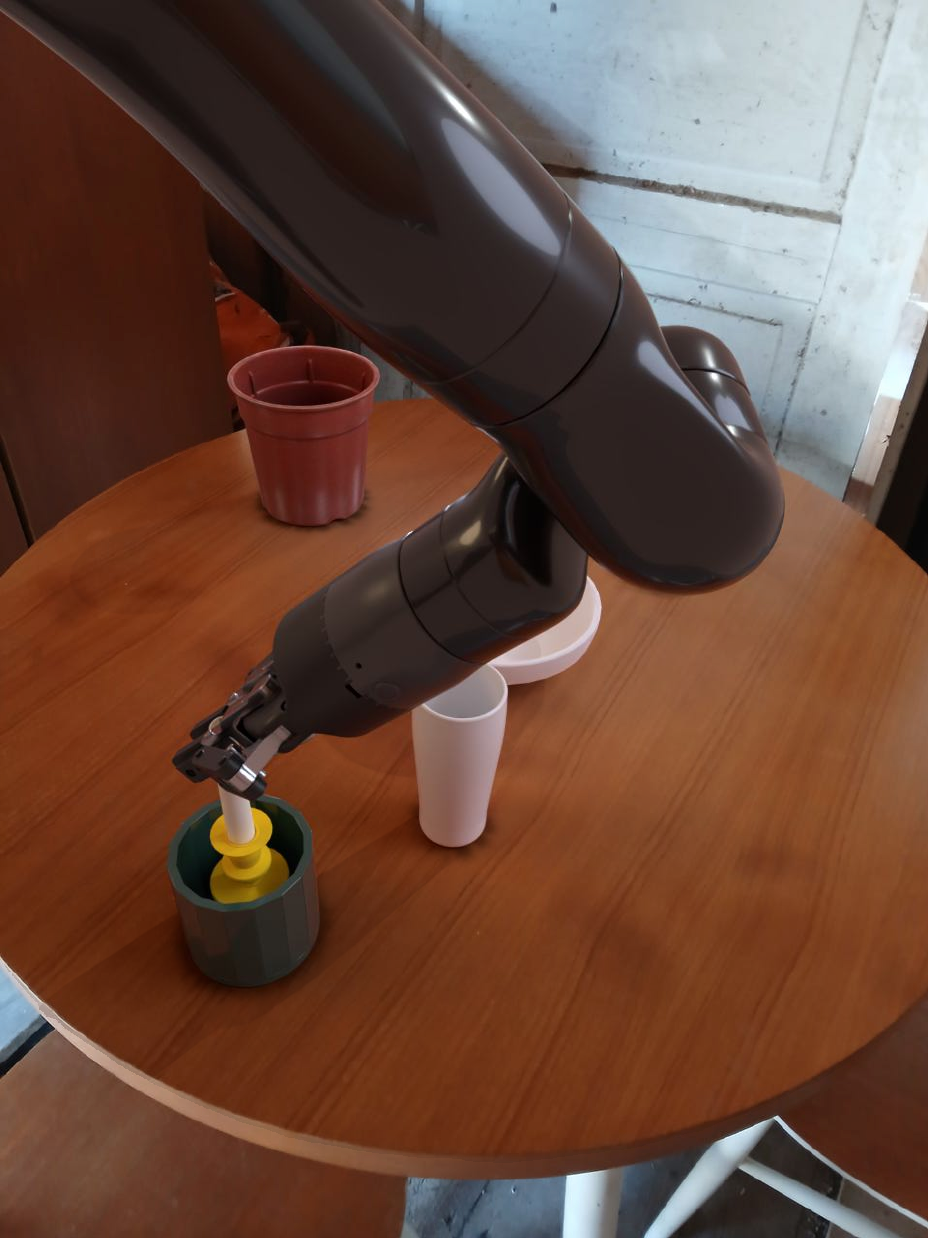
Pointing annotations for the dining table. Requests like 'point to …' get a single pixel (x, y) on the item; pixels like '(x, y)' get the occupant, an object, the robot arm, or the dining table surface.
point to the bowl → (553, 644)
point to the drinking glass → (459, 756)
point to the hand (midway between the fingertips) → (195, 755)
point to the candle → (243, 851)
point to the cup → (254, 930)
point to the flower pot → (307, 429)
